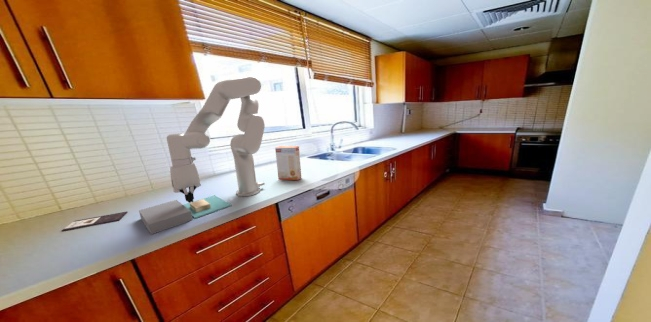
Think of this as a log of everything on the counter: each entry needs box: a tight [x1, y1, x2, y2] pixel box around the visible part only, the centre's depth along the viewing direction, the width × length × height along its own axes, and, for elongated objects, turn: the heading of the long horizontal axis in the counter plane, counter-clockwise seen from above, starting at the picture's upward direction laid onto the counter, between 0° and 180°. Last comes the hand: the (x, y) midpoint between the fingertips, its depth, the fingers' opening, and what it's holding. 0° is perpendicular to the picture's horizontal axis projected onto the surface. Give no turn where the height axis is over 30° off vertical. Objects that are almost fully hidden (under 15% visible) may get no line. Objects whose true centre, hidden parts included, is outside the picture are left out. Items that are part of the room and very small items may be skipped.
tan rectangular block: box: [190, 198, 211, 212], centre depth 103 cm, size 6×9×2 cm, turn 46°
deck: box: [138, 199, 193, 235], centre depth 94 cm, size 14×20×4 cm
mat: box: [183, 195, 233, 219], centre depth 105 cm, size 16×20×1 cm
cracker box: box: [274, 145, 302, 181], centre depth 140 cm, size 14×6×21 cm, turn 69°
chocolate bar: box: [61, 211, 129, 232], centre depth 96 cm, size 9×1×18 cm
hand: (190, 201), depth 100 cm, fingers closed
